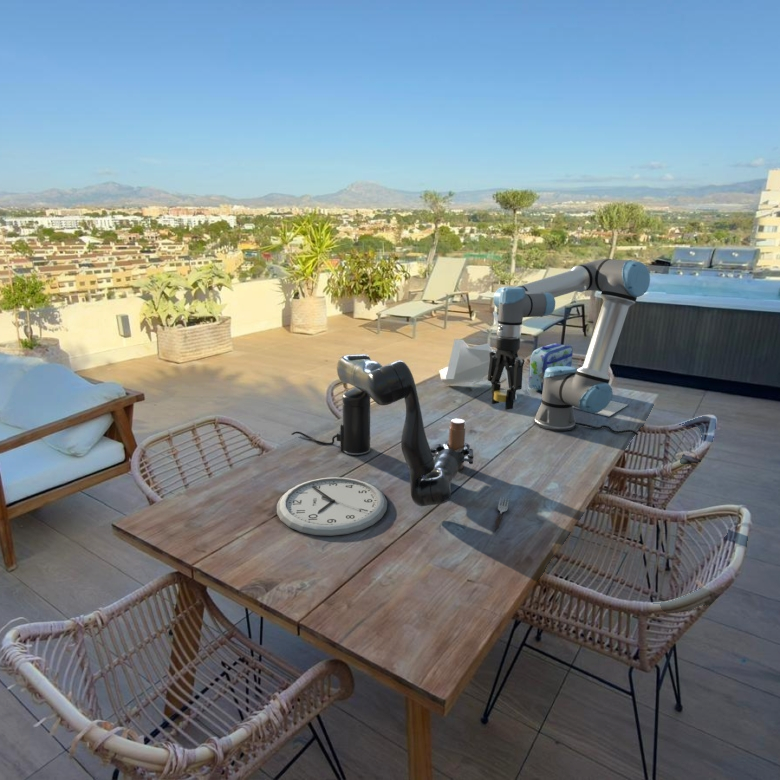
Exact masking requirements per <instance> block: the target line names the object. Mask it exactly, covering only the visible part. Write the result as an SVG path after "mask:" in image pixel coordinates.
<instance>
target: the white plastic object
mask: <svg viewBox="0 0 780 780" xmlns="http://www.w3.org/2000/svg"><path fill="white" fill-rule="evenodd" d="M492 315H493V319H494V321H495V324H496V325H495V326H497V325H498V312H497V311H496V310H495V311H492ZM495 351H497V349H496V350H495V349H493V348H492V347H491V346H490V344H489V343H488V342H487V343H483V344H479V345H473V346H469V345H468V343H466V342H465V340H464V339H463V338H460V339H458V338H454V340H453V344H452V349H451V353H450V357H449V362H448V366H446V367H444V368H442V369H440V370H439V371H438V372H439V376H440V381H442V383H443V384H444V385H445V386H449V385H458V384H467V383H468V384H469V383H473V384H477V383H480V382H482V381H484V378H485V377H486V376H488V372H489V364H490V354H489V353H490V352H495ZM503 373H504V376H505V380H506V383H507V386H508V388H509V384H508V376H507V370H506V369H505V366H504V369H503ZM521 390H522V391H523V393H524V395H525V396H526V397H528V396H531V395H530V390H529V386H528V384H527V381H526V378H525V375H524V372H523V373H522V389H521ZM515 400H517V394H516V396H515Z"/></svg>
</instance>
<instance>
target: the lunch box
mask: <svg viewBox="0 0 780 780" xmlns="http://www.w3.org/2000/svg"><path fill="white" fill-rule="evenodd" d="M573 356H574V355H573V347H572V346H571V345H566V344H560V343H551V344H548V345H544V346H541V347H538V348H536V349H534V350H533V351H532V353H531V355H530V359H529V370H528V371H529V372H528V389H531V390H536V391H541V392H542V390H543V378H544V375H545V370H546V369H547V368H549V367H555V366H568V367H572V365H573V363H572V362H573Z"/></svg>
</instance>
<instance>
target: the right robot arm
mask: <svg viewBox="0 0 780 780" xmlns="http://www.w3.org/2000/svg"><path fill="white" fill-rule="evenodd" d="M650 274H651V273H650V272H649V268H648V266H647V265H646V264H645V263H643V262H642V261H637V260H633V259H615V258H614V259H612V258H601V259H596V260H592V261H588V262H585V263H582V264H578V265H575V266H573V267H572V268H570V270H567V271H565V272H561V273H558V274H554V275H550V276H548V277H545V278H541V279H538V280H535V281H531V282H528V283H524V284H521V285H517V286H504V287H503V286H502V287H499V288H497V290H496V291H495V292H494V294H493V304H494V307H496V309H497V308H498V312H497V314H498V325H496V338H495V348H496V350H497V351H495V352H490V353H489V354H490V364H489V372H488V374H487V381H488V382H490V383H491V391H490V392H491V403H490V404H492V405H495V404H499V403H500V402H498V401H495V400H494V391H496V390H501V386H502V385H501V381H500V380H501V377H502V374H503V373H504V370H503V369H504V366H505V369H506V370H507V376H508V384H509V387H508V388H507V389H506V391H507V395H506V402H505V407H504V409H505V411H509V410H513V409H514V402H515V400H516V399H515V396H516V395H517V391H520V390H523V389H522V373H523V374H524V371H523V369H524V365H525V359H524V358H522V359H521V358H520V357H519V355H518V354H519V353H518V351H519V350H520V348H521V347H520V346H521V337H522V327H523V326H522V325H523V319H524V318H537V317H540V318H543V317H547V316H551V315H552V314H553V312H554V311H555V308H556V298H558V297H561V296H565V295H567V294H571V293H574V292H578V293H584V292H587V291H594V292H600V297H601V299H602V301H603V302H602V305H601V307H600V311H599V313H598V317H597V320H596V324H595V327H594V330H593V333H592V336H591V339H590V342H589V345H588V349H587V351H586V355H585V357H584V361H583V364H582V366H581V367H579V368H577V367H574V366H571V367H568V366H555V367H549V368H547V369H546V370H545V375H544V378H543V390H542V391H541V402H540V405H539V407H538V410H537V411H536V413H535V415H534V424H535V425H536V426H537V427H539V428H542V429H544V430H549V431H556V432H567V431H572V430H574V429H575V428H576V425H577V426H581V427H586V428H588V429H589V428H590V429H593V430H601V429H603V428H604V429H605V428H606V429H608V430H609V432H611V433H614V434H624V433H632V434H634V435H636V436H639V433H638V432H637V431H635V430H633V429H623V430H615V429H613V428H612V427H611V426H609V425H607V424H603V425H600V426H593V425H591V424H586V423H582V422H577V421H576V418H575V417H576V416H575V413H574V407H576V408H579V409H578V410H580V409H581V411H582V412H587V413H590V414H596V413H597V412H600V411H601V410H602V409H604V408H605V407H606V406H607V405H608V404H609V402H610V401H612V398H613V395H614V392H613V388H612V386H611V385H610V384H609V383H610V380H611V377H610V376H609V374H608V372H609V369H610V367H611V366H610V365H611V364H612V360H613V356H614V353H615V351H616V348H617V345H618V341H619V338H620V335H621V332H622V329H623V327H624V323H625V321H626V317H627V314H628V312H629V308H630V307H631V306H633V305H635V304H636V302H637V299H638V298H641V297H642V296H644V295H645V293H647V291H648V290H649V287H650V283H651V275H650ZM508 384H507V385H508ZM576 408H575V409H576Z"/></svg>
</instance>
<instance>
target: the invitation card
mask: <svg viewBox="0 0 780 780" xmlns="http://www.w3.org/2000/svg"><path fill="white" fill-rule="evenodd" d="M628 406H629V404H627V403H623V402H618V401H614V400H611V401H610V402H609V404H608V405H607V406H606V407H605V408H604V409H602V410H601V411H600V412H597V413H595V414H596V415H600V416H604V417H608V418H609V417H611V416H613V415H614V414H616V413H617V412H619V411H621V410H623V409H624V408H626V407H628ZM573 409H575V410H581V409H579V408H576V407H574V406H573ZM581 411H582V410H581Z"/></svg>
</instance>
